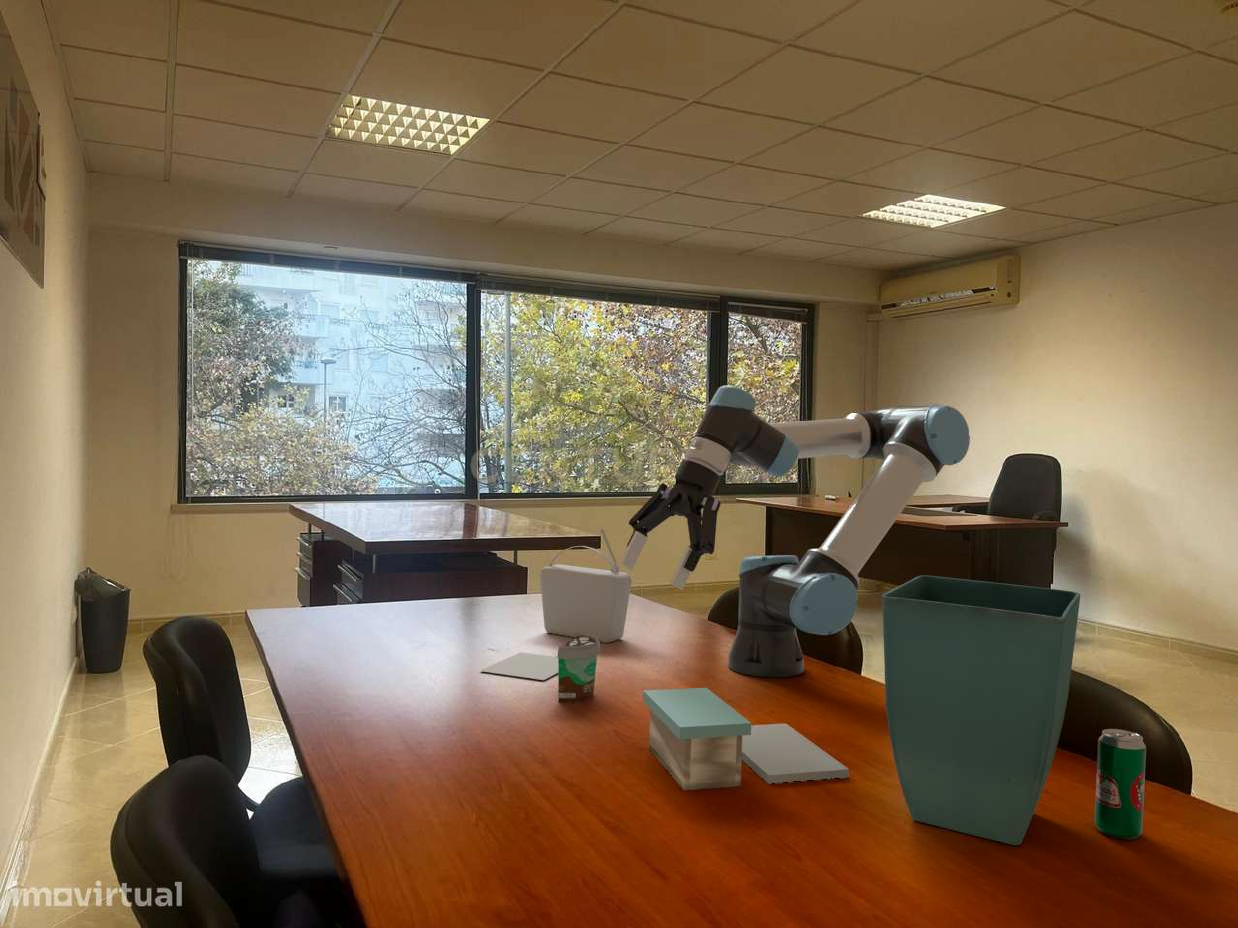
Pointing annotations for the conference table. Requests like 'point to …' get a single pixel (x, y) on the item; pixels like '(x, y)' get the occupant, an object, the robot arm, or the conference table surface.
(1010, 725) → the flower pot
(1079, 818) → the conference table surface
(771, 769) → the mat
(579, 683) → the food container
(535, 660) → the paper stack
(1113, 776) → the soda can
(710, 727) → the lid
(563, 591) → the radio
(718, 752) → the box
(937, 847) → the conference table surface
